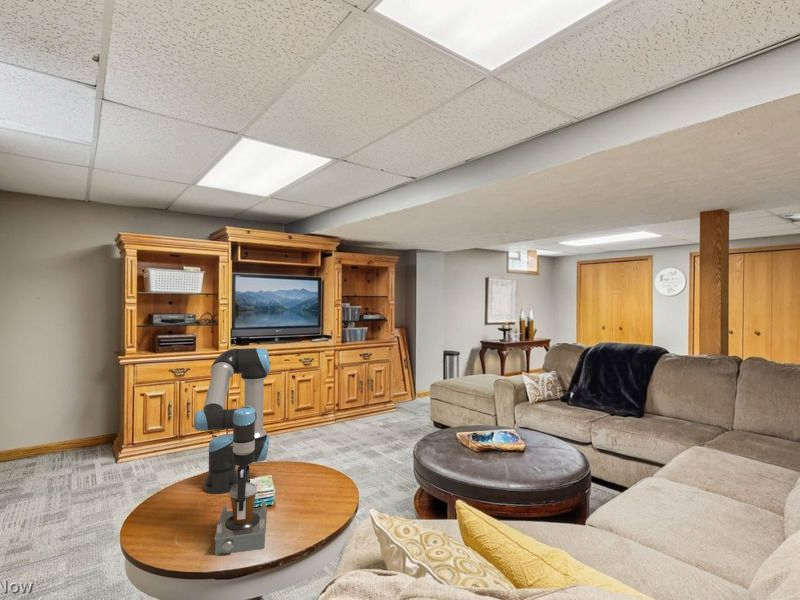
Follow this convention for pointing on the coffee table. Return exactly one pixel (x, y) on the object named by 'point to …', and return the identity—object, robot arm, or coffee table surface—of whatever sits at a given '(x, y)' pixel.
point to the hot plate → (241, 532)
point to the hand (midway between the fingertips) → (242, 509)
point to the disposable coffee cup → (250, 501)
